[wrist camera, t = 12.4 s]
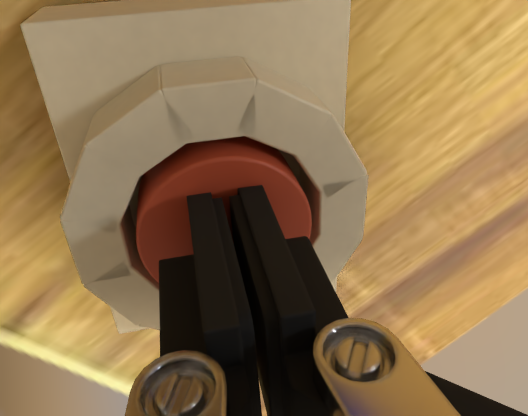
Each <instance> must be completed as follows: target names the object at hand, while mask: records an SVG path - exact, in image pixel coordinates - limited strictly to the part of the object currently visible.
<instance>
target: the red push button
mask: <svg viewBox="0 0 528 416" xmlns="http://www.w3.org/2000/svg"><path fill="white" fill-rule="evenodd" d="M257 185H262V186H263V188H264V190H265V192H266V195H267V197H268V199H269V202H270V204H271V206H272V209H273V211H274V214H275V216H276V218H277V221H278V223H279V225H280V228H281V230H282V232H283V235H284V237H285V239H289V238H295V237H301V236H306V237H308V239H309V238H310V234H311V225H312V217H311V210H310V205H309V202H308V200H307V197H306V195H305V193H304V191H303V190H302V188H301V186H300V184H299V182H298V181H297V179H296V177H295V175H294V174H293V172H292V170H291V168H290V166H289V165H288V163H287V161H286V160H285V158H284V156H283V155H282V154H281V153H280V152H279V150H278V149H276V148H274V147H271V146H269V145H266V144H263V143H261V142H258V141H256V140H253V139H251V138H248V137H246V136H241V137H234V138H226V139H218V140H210V141H203V142H195V143H187V144H185V145H184V146H182V147H181V148H179V149H178V150H177V151H175V152H174V153H172V154H171V155H170V156H168V157H167V158H165V159H164V160H163V161H161V162H160V163H158V164H157V165H156V166H154V167H153V168H151V169H150V170H149V171H147V172H146V173H144V174H143V176H142V179H141V182H140V185H139V191H138V203H137V223H136V243H137V249H138V253H139V255H140V258H141V261H142V262H143V264H144V266H145V268H146V269H147V271H148V272H149V273H150V275H151V276H152V277H153V278H154V279H155V280H156V281H157V282H158V283H159V260H162V259H168V258H174V257H180V256H186V255H192V254H194V253H193V245H192V237H191V229H190V221H189V213H188V205H187V197H186V196H189V195H196V194H202V193H209V192H211V194H212V199H213V198H220V197H222V200H223V204H224V208H225V212H226V216H227V220H228V224H229V228H230V232H231V236H232V240H233V232H232V222H231V213H230V203H229V196H233V195H237V189H238V188H244V187H250V186H257ZM233 243H234V241H233Z"/></svg>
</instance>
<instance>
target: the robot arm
mask: <svg viewBox="0 0 528 416" xmlns="http://www.w3.org/2000/svg"><path fill="white" fill-rule="evenodd" d="M186 197H187V205H188V213H189V221H190V229H191V237H192V245H193V253H194V254H192V255H186V256H180V257H174V258H168V259H162V260H159V311H160V357H159V358H157V359H155V360H154V361H153V362H151V363H150V364H149V365H148V366H146V367H145V368H144V369H143V370H142V371H141V373H140V374H139V375H138V377H137V378H136V379H135V381H134V384H133V386H132V389H131V391H130V394H129V399H128V404H127V408H126V413H125V416H262V412H261V401H260V389H259V382H260V386H261V390H262V394H263V399H264V403H265V407H266V411H267V416H528V415H526V414H524V413H522V412H519V411H517V410H514V409H512V408H510V407H508V406H505V405H503V404H501V403H498V402H496V401H493V400H491V399H489V398H487V397H484V396H482V395H480V394H477V393H475V392H473V391H470V390H468V389H465V388H463V387H461V386H459V385H456V384H454V383H451V382H449V381H447V380H445V379H442V378H440V377H438V376H435V375H433V374H430V373H428V372H426V371H424V370H423V369H422V367H421V366H420V365H419V364H418V362H417V361H416V360H415V359H414V357H413V356H412V355H411V354H410V352H409V351H408V350H407V349H406V348H405V346H404V345H403V344H402V343H401V341H400V340H399V339H398V338H397V337H396V336H395V335H394V334H393V333H392V332H391V331H390V330H389V329H387V328H386V327H384V326H382V325H380V324H378V323H376V322H373V321H370V320H366V319H362V318H348V316H347V314H346V312H345V310H344V308H343V306H342V304H341V302H340V300H339V298H338V296H337V294H336V292H335V290H334V288H333V286H332V284H331V282H330V280H329V278H328V276H327V274H326V272H325V270H324V268H323V266H322V264H321V262H320V260H319V258H318V256H317V254H316V252H315V250H314V248H313V246H312V244H311V242H310V240H309V239H308V237H306V236H301V237H295V238H289V239H285V237H284V235H283V232H282V230H281V228H280V225H279V223H278V221H277V218H276V216H275V214H274V211H273V209H272V206H271V204H270V202H269V199H268V197H267V195H266V192H265V190H264V188H263V186H262V185H257V186H250V187H244V188H238V189H237V195H233V196H229V203H230V213H231V222H232V232H233V240H232V236H231V232H230V228H229V224H228V220H227V216H226V212H225V208H224V204H223V200H222V197H220V198H213V199H212V194H211V192H209V193H202V194H196V195H189V196H186ZM233 241H234V243H233ZM258 377H259V378H258Z"/></svg>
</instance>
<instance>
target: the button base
mask: <svg viewBox="0 0 528 416" xmlns="http://www.w3.org/2000/svg"><path fill="white" fill-rule="evenodd" d="M350 8H351V0H120V1H108V2H96V3H83V4H71V5H59V6H47V7H42V8H40V9H39V10H38V11H37V12H35V13H34V14H33V15H31V16H30V17H29V18H28V19H26V20H25V21H24V22H23V23H21V25H20V27H21V30H22V33H23V36H24V39H25V42H26V46H27V49H28V52H29V55H30V58H31V61H32V64H33V67H34V71H35V74H36V77H37V80H38V83H39V86H40V89H41V92H42V95H43V99H44V102H45V105H46V108H47V111H48V114H49V117H50V120H51V124H52V127H53V130H54V133H55V136H56V139H57V142H58V145H59V149H60V152H61V155H62V158H63V161H64V164H65V167H66V170H67V174H68V177H69V180H70V185H69V189H68V192H67V195H66V198H65V202H64V205H63V208H62V211H61V215H60V222H61V225H62V228H63V231H64V234H65V237H66V239H67V242H68V245H69V248H70V251H71V254H72V256H73V259H74V262H75V265H76V268H77V271H78V273H79V276H80V279H81V282H82V284H84V287H85V288H86V289H88V290H89V291H90V292H92V293H93V294H94V295H96V296H97V297H98V298H100V299H101V300H102V301H104V302H105V303H106V304H108V305H109V306H110V308H111V311H112V314H113V317H114V320H115V323H116V327H117V330H118V332H119V334H121V333H127V332H132V331H138V330H143V329H148V328H151V329H157V330H160V311H159V283H158V282H157V281H156V280H155V279H154V278H153V277H152V276H151V275H150V273H149V272H148V271H147V269H146V268H145V266H144V264H143V262H142V261H141V258H140V255H139V253H138V249H137V243H136V223H137V203H138V191H139V185H140V182H141V179H142V176H143V174H144V173H146V172H147V171H149V170H150V169H151V168H153V167H154V166H156V165H157V164H158V163H160V162H161V161H163V160H164V159H165V158H167V157H168V156H170V155H171V154H172V153H174V152H175V151H177V150H178V149H179V148H181V147H182V146H184V145H185V144H187V143H195V142H203V141H210V140H218V139H226V138H234V137H241V136H246V137H248V138H251V139H253V140H256V141H258V142H261V143H263V144H266V145H269V146H271V147H274V148H276V149H278V150H279V152H280V153H281V154H282V155H283V156H284V158H285V160H286V161H287V163H288V165H289V166H290V168H291V170H292V172H293V174H294V175H295V177H296V179H297V181H298V182H299V184H300V186H301V188H302V190H303V191H304V193H305V195H306V197H307V200H308V202H309V205H310V210H311V217H312V225H311V234H310V238H309V240H310V242H311V244H312V246H313V248H314V250H315V252H316V254H317V256H318V258H319V260H320V262H321V264H322V266H323V268H324V270H325V272H326V274H327V276H328V278H329V280H330V282H331V284H332V286H333V288H334V290H335V292H336V283H337V276H338V274H339V273H340V271H341V270H342V268H343V267H344V265H345V264H346V262H347V261H348V260H349V258H350V257H351V255H352V254H353V252H354V251H355V249H356V248H357V246H358V245H359V244H360V242H361V241H362V237H363V233H364V221H365V210H366V198H367V186H368V174H367V170H366V168H365V166H364V165H363V163H362V161H361V159H360V158H359V156H358V154H357V153H356V151H355V149H354V148H353V146H352V144H351V142H350V141H349V139H348V137H347V136H346V134H345V132H344V126H345V106H346V87H347V67H348V47H349V28H350Z"/></svg>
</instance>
